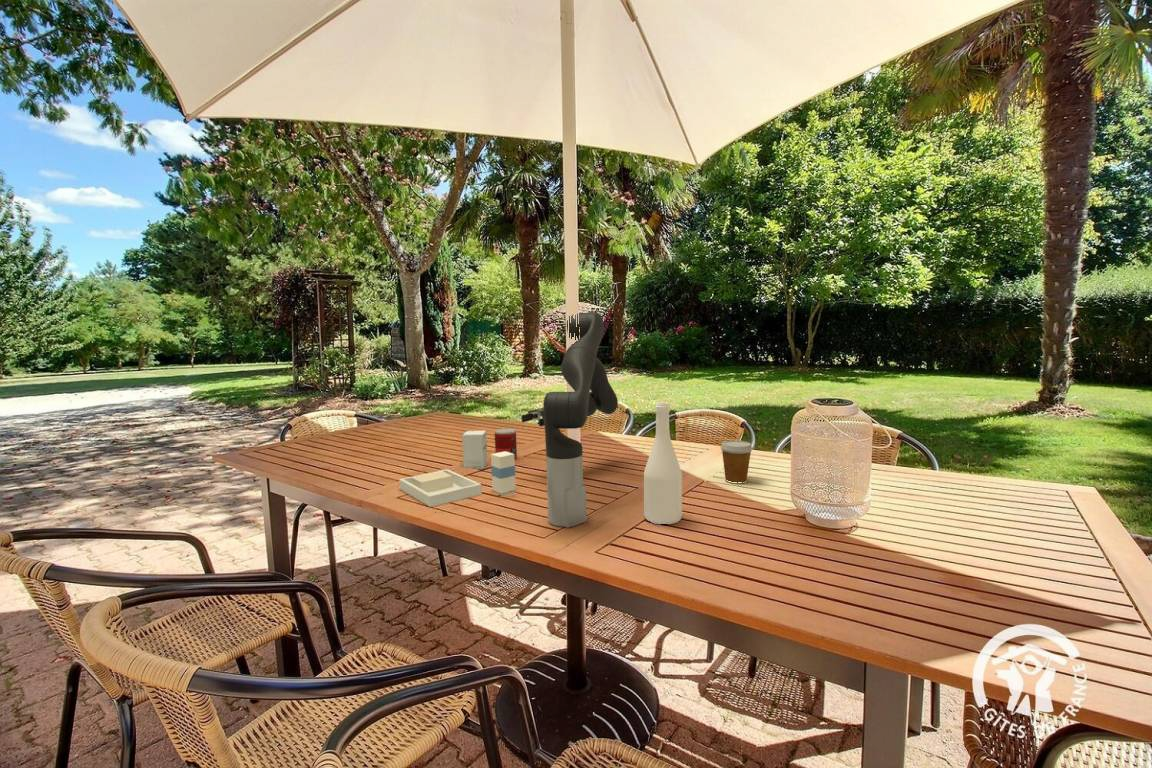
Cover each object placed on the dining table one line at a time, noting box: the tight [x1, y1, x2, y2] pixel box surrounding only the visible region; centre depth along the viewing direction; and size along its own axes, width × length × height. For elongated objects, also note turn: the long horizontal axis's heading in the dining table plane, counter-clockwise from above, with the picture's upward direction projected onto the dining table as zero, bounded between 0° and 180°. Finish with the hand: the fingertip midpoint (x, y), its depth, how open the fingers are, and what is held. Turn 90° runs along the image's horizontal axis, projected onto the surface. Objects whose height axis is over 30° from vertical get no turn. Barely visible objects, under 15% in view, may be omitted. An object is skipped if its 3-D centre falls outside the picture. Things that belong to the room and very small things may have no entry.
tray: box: [398, 469, 483, 508], centre depth 159 cm, size 22×16×4 cm
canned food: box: [494, 428, 518, 460], centre depth 198 cm, size 8×8×11 cm
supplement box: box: [461, 430, 488, 470], centre depth 188 cm, size 7×7×13 cm
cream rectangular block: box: [411, 470, 453, 493], centre depth 162 cm, size 7×10×4 cm
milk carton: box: [490, 451, 517, 498], centre depth 158 cm, size 5×5×12 cm
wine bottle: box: [643, 401, 683, 525], centre depth 134 cm, size 10×10×30 cm
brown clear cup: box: [720, 439, 753, 483], centre depth 165 cm, size 10×10×12 cm
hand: (530, 420), depth 164 cm, fingers open, 8 cm apart
